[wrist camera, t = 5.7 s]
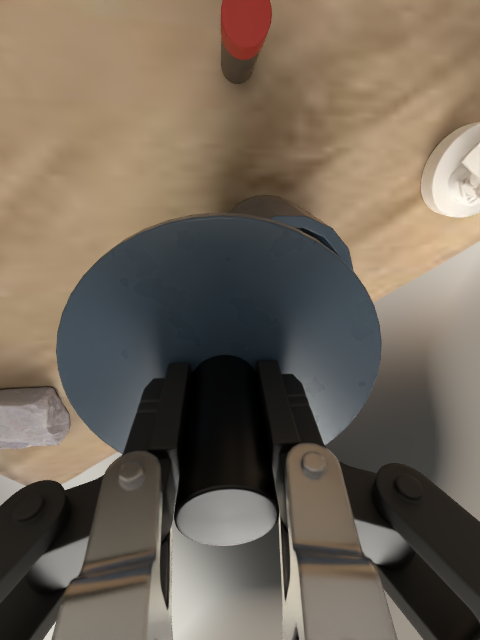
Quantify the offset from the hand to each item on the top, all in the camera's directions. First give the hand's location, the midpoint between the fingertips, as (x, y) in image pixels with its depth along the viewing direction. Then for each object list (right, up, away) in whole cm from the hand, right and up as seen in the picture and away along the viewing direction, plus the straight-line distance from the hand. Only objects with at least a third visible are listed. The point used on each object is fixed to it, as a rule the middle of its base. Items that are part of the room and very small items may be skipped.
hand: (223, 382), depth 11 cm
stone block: (-31, -11, +33) cm, 46 cm away
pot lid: (0, 0, +1) cm, 1 cm away
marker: (0, +25, +15) cm, 29 cm away
